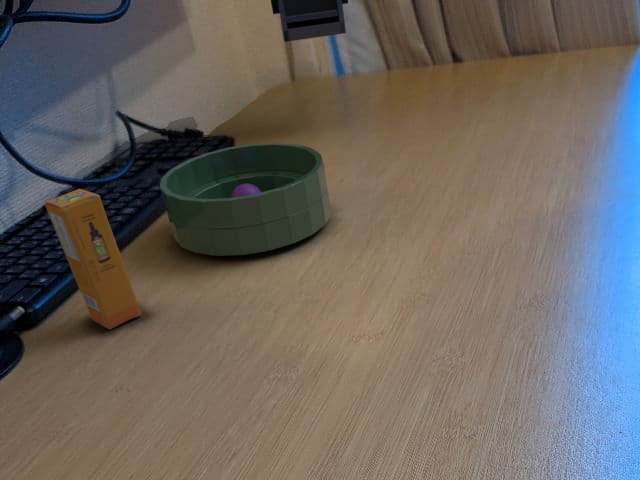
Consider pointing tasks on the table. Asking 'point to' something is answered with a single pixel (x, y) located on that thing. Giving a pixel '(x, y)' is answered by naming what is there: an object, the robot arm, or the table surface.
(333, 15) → the dark grey open holder
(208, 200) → the bowl
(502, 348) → the table surface
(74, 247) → the supplement box
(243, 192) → the ball
